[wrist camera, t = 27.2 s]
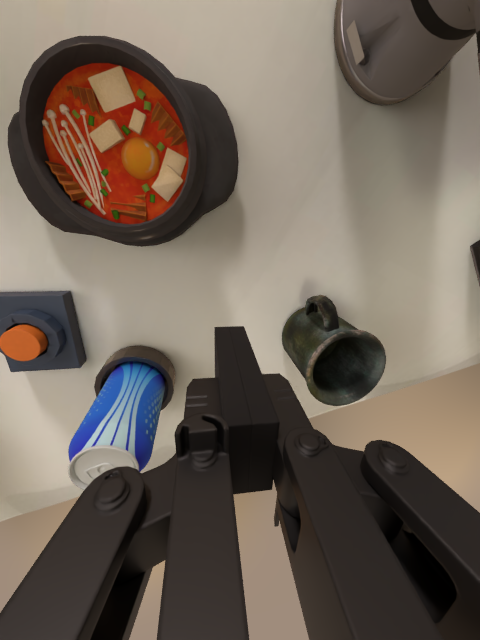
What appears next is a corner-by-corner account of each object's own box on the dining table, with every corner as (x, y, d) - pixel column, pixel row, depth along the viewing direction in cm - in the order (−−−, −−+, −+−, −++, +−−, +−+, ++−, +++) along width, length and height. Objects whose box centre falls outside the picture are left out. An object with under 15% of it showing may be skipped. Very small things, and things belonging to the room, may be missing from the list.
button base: (-4, 292, 33) (-30, 300, 29) (70, 291, 34) (54, 299, 30) (21, 363, 37) (1, 379, 33) (86, 360, 38) (74, 374, 34)
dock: (97, 347, 37) (87, 359, 34) (172, 343, 39) (170, 354, 36) (109, 406, 42) (102, 421, 38) (177, 400, 43) (175, 415, 40)
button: (4, 324, 31) (-7, 330, 29) (43, 323, 31) (34, 328, 30) (15, 355, 32) (5, 362, 31) (51, 353, 33) (44, 360, 31)
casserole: (64, 262, 33) (23, 274, 25) (-17, 84, 25) (-110, 23, 18) (247, 226, 35) (261, 226, 27) (219, 50, 27) (227, -18, 20)
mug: (286, 369, 44) (314, 417, 33) (266, 295, 39) (293, 323, 28) (341, 349, 45) (388, 390, 34) (330, 273, 39) (383, 293, 28)
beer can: (117, 350, 37) (63, 433, 22) (172, 363, 39) (156, 446, 25) (106, 395, 40) (51, 496, 25) (159, 404, 42) (137, 503, 27)
